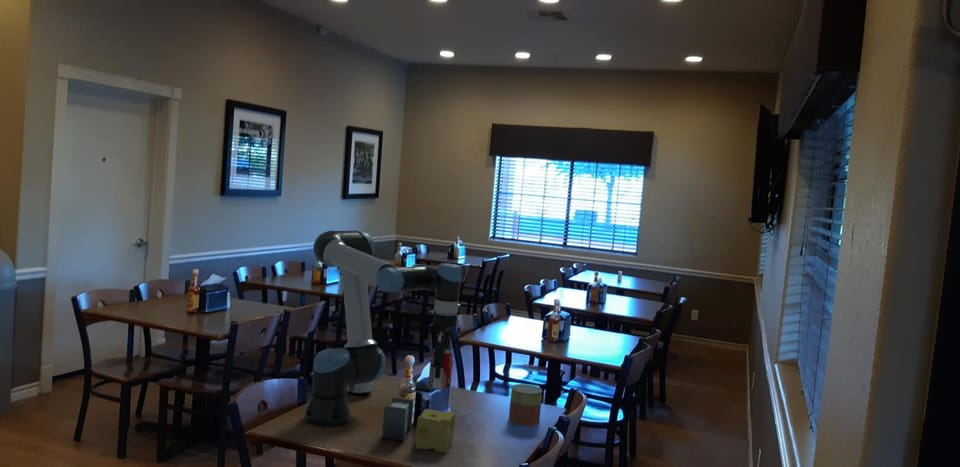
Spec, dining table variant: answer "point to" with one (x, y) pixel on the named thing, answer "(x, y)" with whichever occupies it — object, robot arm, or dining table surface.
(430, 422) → the cheese
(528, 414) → the canned food
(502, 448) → the dining table surface
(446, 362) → the soda can
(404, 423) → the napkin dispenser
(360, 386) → the spread jar
